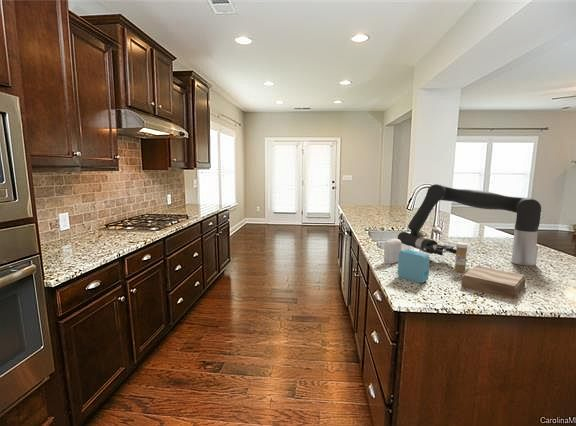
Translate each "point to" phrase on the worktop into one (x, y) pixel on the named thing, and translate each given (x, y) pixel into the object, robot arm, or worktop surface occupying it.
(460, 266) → the sprinkles bottle
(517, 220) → the robot arm
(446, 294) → the worktop surface
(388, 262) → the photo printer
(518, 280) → the walnut riser
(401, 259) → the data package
